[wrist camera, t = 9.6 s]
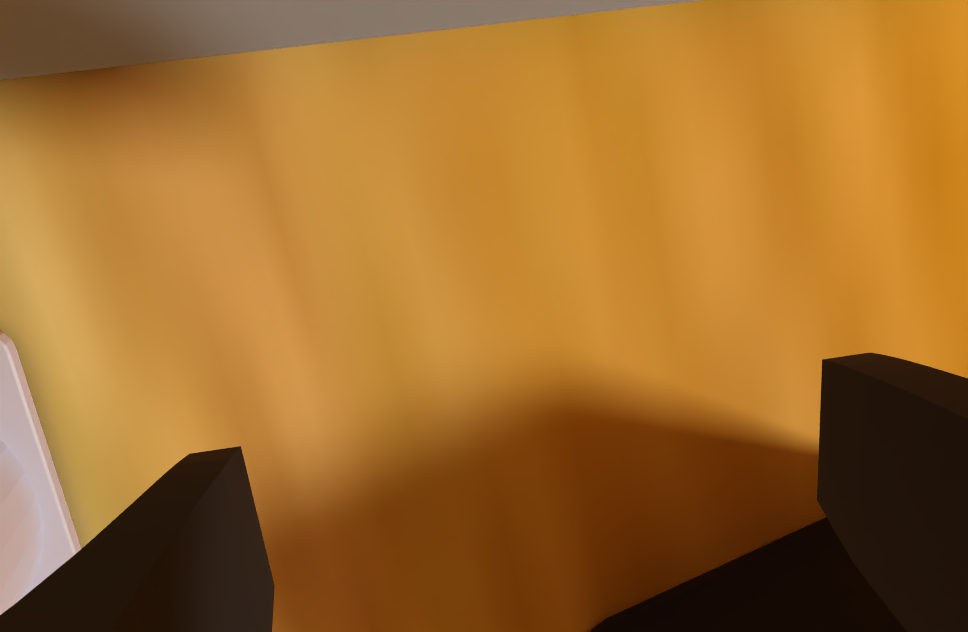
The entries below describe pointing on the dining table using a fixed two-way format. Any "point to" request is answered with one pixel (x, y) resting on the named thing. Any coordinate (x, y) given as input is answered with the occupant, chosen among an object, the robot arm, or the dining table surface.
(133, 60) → the board
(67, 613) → the robot arm
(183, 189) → the dining table surface
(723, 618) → the electronic device
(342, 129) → the dining table surface
